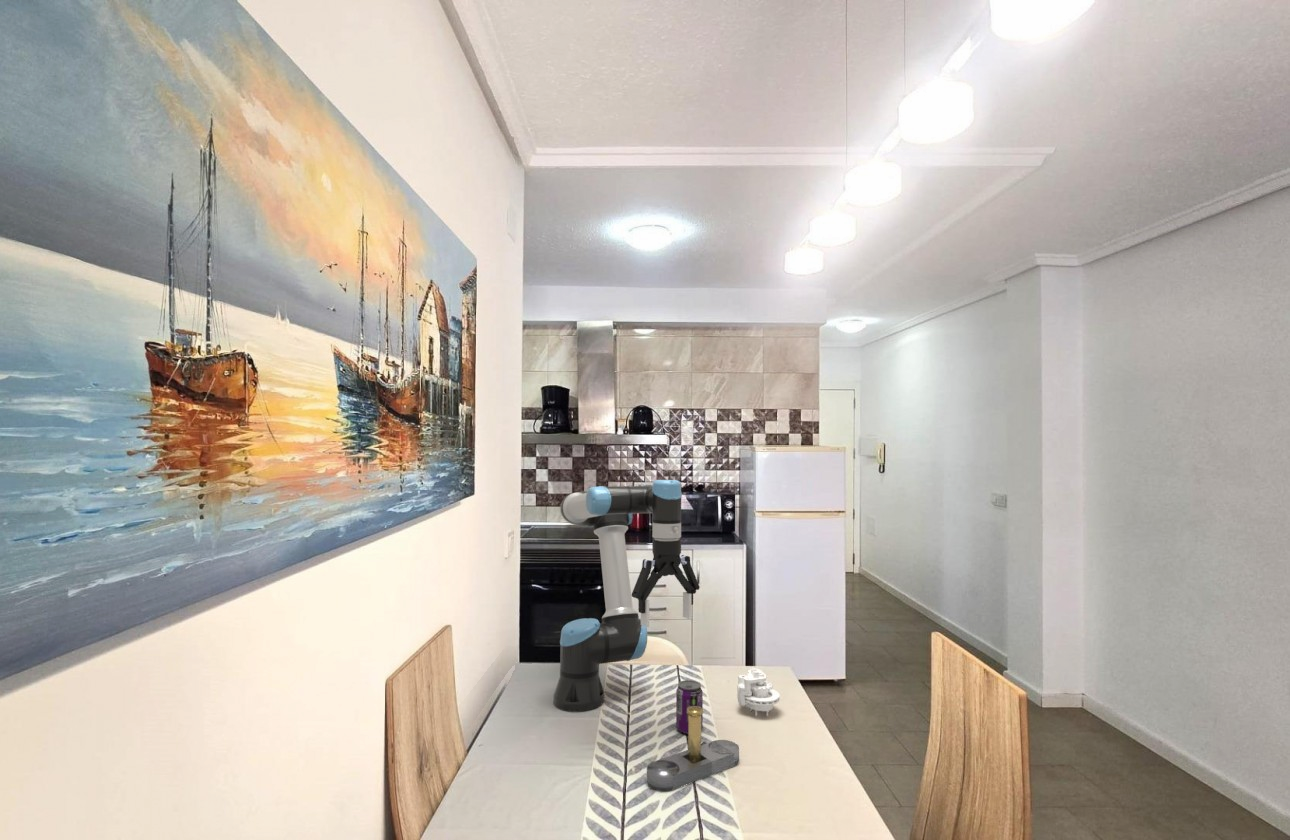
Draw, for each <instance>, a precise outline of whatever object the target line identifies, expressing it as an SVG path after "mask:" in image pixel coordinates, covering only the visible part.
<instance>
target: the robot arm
mask: <svg viewBox="0 0 1290 840" xmlns="http://www.w3.org/2000/svg"><path fill="white" fill-rule="evenodd" d="M682 496H683V493H682V484H681V482H680V481H679V480H677V479H656V480H654V481H653V482H652V485H651V484H649V485H648V484H646V485H630V486H629V485H628V486H626V485H625V486H604V485H599V486H592V487H590V488H588V490H586V491H577V492H573V493H570V494H567V495H566V496H564V498H563V500H562V501H561V504H560V513H561V516H562V518H563V519H564V520H565V521H566V522H567V523H569V524H571V525H573V526H578V527H592V528H593V533H594V535H596V536H597V537H598V542H599V543H598V545H599V552H600V562H601V563H600V564H601V574H602V582H603V583H602V584H603V594H604V603H605V604H604V605H605V606H604V607H605V612H604V614H603V615H602V617H601V623H600V621H599V620H598V619H597V618H594V617H593V618H592V617H589V618H585V617H584V618H578V619H574V620H572V621H569V622H566V624H565V625H563V627H562V628H561V631H560V640H559V644H560V655H559V657H560V658H559V659H560V663H559V666H560V667H559V669H560V670H559V677H558V680H557V681H558V682H557V684H556V687H555V691H554V694H553V705H554V706H555V707H556V708H557V709H559V710H563V711H565V712H574V713H575V712H579V713H581V712H587V711H592V710H595V709H598V708H599V707H602V705H604V703H605V691H604V687H603V685H602V681H601V680H602V679H601V677H600V673H599V672H600V670H599V669H600V665H602V664H610V663H611V664H612V663H619V662H629V661H631V660H637V659H640V658H641V657H642V656H643V655H644V654H645V651H646V649H647V646H648V628H649V627H650V600H649V599H648V598H649V596H650V595H651V593H652V591H653V589H654V588H655V586H656V585H657V583H658V581H659V580H660V579H661V578H662V577H667V576H674V577H675V578H676V580H677V581H678V582H679V584H680V585H681V586H682V588H683V589H684V591H683V592H682V617H683V618H684V619H687V620H691V619H692V606H693V605H694V594H697V591H699V590H700V588H701V587H700V585H699V581H698V579H697V577H696V574H695V572H694V569H693V567H692V565H691V557H690V556H689V555H685V554H682V541H681V540H680V538H682ZM635 514H636V515H637V514H652V535H651V537H652V538H653V540H652V556H653V557H652V559H651V560H650V559H645V558H644V559H643V560H642V563H641V570H640V571H639V575H638V577H637V580H636V582H635V585H634V587H633V589H632V590H631V582H630V572H629V563H628V554H627V546H626V538H625V537H626V536H625V534H626V532H627V531H628V530H629V525H630V524H632V522H633V515H635ZM680 555H681V556H680ZM680 566H682V569H683V571H684V573H683V571H682V569H681V568H680ZM633 598H634V599H637V600H638V604H637V605H638V611H637V610H636V609H634V606H633V601H632V600H633ZM639 613H640V615H639ZM639 616H640V617H639Z"/></svg>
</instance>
